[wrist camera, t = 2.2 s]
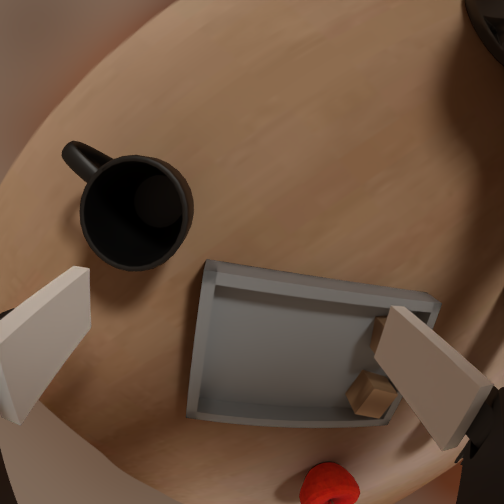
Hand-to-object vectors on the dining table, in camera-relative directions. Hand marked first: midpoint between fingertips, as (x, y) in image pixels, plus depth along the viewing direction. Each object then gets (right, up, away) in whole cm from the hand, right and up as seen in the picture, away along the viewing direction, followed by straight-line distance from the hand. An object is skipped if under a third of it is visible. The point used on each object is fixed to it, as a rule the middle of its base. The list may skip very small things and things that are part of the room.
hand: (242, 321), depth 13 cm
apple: (+12, -32, +29) cm, 45 cm away
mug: (-10, +9, +17) cm, 22 cm away
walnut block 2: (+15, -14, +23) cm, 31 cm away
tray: (+7, -9, +22) cm, 25 cm away
